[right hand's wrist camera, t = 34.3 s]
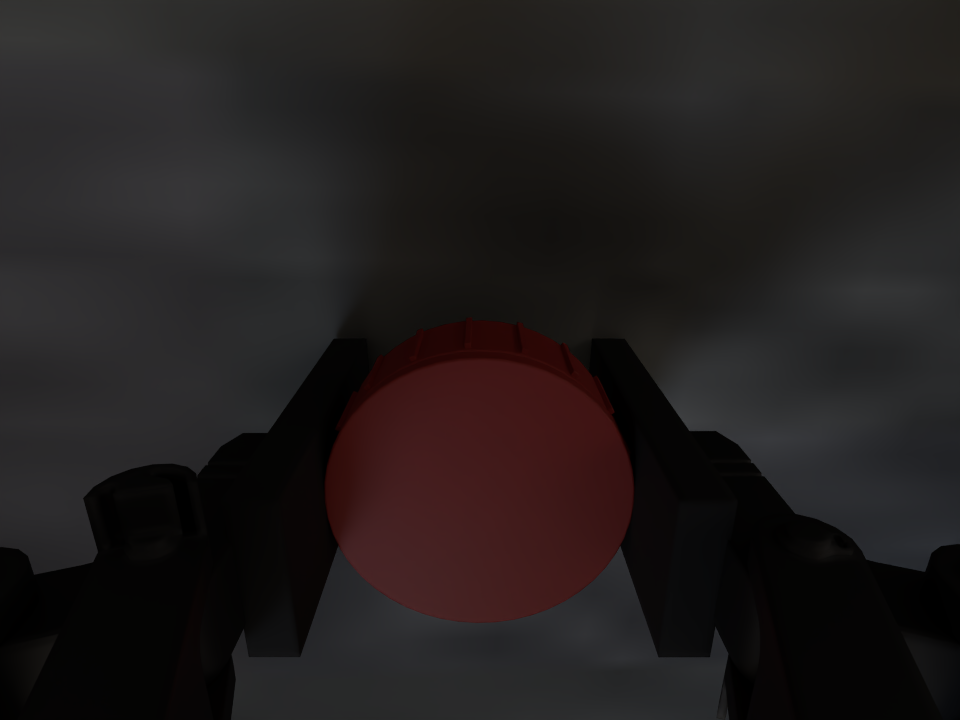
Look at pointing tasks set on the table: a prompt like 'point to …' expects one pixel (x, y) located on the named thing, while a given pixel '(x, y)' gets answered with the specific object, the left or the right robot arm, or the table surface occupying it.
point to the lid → (479, 474)
